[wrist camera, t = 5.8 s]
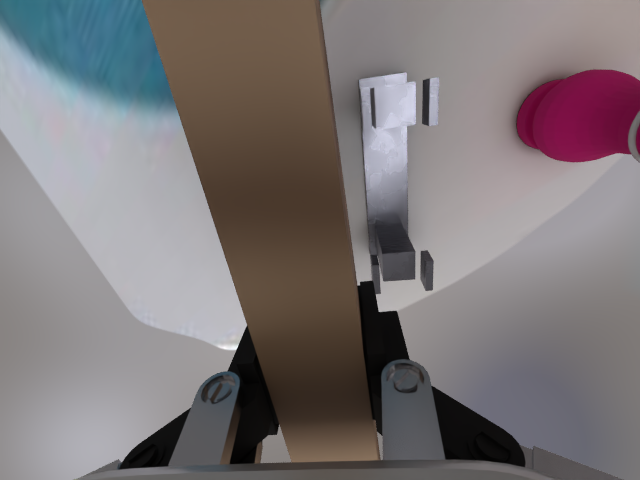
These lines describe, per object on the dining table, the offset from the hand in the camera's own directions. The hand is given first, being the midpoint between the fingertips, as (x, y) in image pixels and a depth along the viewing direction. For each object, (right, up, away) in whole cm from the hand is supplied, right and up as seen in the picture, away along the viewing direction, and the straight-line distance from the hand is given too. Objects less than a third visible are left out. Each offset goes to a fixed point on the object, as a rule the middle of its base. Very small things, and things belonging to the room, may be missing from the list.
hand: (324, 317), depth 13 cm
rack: (+7, +10, +20) cm, 24 cm away
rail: (0, 0, -1) cm, 1 cm away
